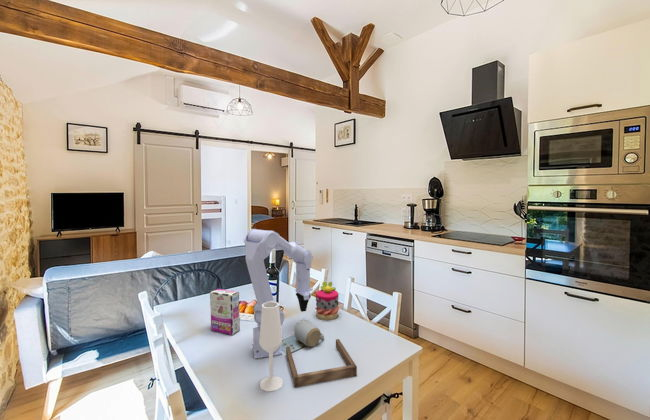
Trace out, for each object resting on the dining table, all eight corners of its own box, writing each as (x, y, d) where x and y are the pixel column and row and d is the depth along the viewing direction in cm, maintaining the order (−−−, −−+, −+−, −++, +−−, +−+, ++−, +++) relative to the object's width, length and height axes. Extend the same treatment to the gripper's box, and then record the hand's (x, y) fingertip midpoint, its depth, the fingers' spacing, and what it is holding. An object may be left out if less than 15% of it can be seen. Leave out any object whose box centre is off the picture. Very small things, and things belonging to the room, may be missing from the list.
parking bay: (294, 387, 83) (294, 377, 83) (286, 355, 100) (286, 346, 100) (356, 375, 89) (356, 366, 89) (338, 346, 105) (338, 339, 105)
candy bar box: (240, 330, 118) (239, 291, 117) (232, 336, 113) (231, 295, 112) (219, 325, 122) (218, 287, 121) (210, 331, 117) (209, 291, 116)
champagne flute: (283, 375, 89) (282, 299, 87) (282, 390, 82) (281, 308, 81) (261, 377, 88) (259, 300, 87) (258, 392, 82) (257, 309, 80)
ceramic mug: (306, 351, 103) (307, 330, 102) (293, 342, 109) (293, 322, 108) (328, 341, 110) (329, 321, 109) (315, 333, 116) (315, 314, 115)
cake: (342, 318, 129) (342, 285, 128) (320, 322, 125) (320, 288, 124) (332, 309, 138) (332, 279, 137) (312, 313, 134) (312, 281, 133)
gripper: (316, 283, 112) (316, 316, 113) (308, 272, 126) (308, 303, 127) (298, 284, 110) (299, 319, 111) (292, 274, 124) (293, 304, 125)
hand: (303, 310), depth 119 cm, fingers closed
